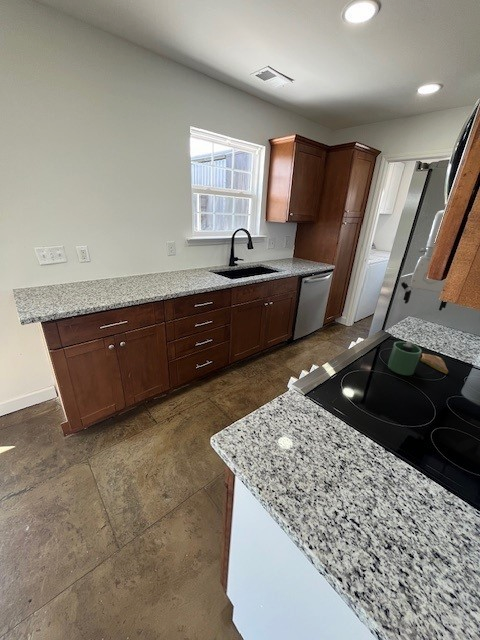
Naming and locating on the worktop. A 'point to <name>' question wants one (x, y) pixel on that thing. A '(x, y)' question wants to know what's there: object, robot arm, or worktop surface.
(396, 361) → the green cup
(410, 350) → the dark bottle
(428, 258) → the robot arm
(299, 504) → the worktop surface
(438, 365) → the shard
